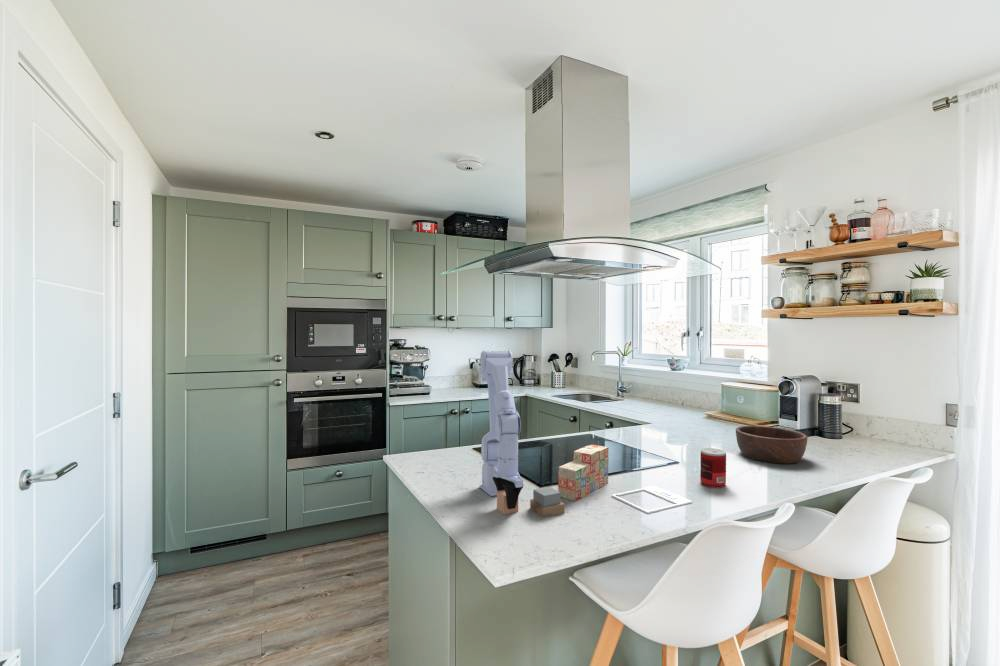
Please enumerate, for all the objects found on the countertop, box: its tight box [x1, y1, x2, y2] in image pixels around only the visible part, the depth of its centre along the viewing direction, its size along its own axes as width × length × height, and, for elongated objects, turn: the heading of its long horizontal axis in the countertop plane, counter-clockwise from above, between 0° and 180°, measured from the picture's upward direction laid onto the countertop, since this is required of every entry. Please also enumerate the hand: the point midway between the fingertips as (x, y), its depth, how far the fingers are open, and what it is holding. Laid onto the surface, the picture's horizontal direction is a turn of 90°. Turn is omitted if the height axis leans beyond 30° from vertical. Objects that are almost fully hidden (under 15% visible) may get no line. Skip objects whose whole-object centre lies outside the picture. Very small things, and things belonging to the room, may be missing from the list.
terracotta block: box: [496, 490, 519, 515], centre depth 129 cm, size 4×4×5 cm
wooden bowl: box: [735, 425, 808, 464], centre depth 186 cm, size 25×25×10 cm
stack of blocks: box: [557, 444, 609, 502], centre depth 146 cm, size 21×6×12 cm, turn 140°
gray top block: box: [532, 486, 562, 507], centre depth 129 cm, size 6×6×3 cm
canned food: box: [700, 447, 727, 489], centre depth 153 cm, size 8×8×11 cm
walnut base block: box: [529, 498, 566, 518], centre depth 129 cm, size 7×7×3 cm
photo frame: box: [611, 485, 693, 515], centre depth 138 cm, size 15×1×18 cm
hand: (507, 505), depth 129 cm, fingers closed on terracotta block, 4 cm apart
